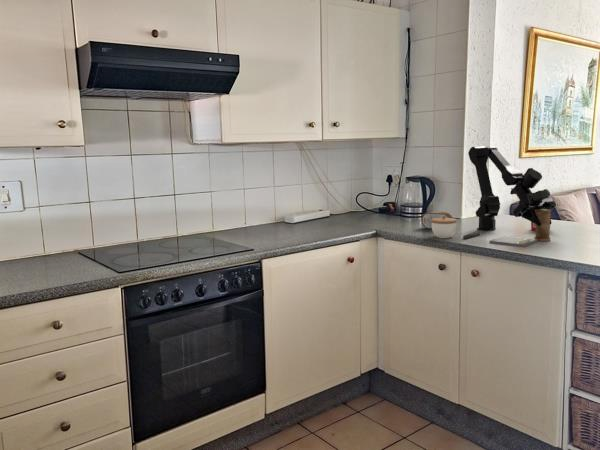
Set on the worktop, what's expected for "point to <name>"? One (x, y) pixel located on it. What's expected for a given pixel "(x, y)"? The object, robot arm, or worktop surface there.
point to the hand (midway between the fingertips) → (545, 224)
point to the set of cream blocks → (524, 240)
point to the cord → (471, 235)
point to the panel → (511, 241)
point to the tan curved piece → (431, 215)
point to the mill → (543, 225)
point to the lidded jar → (443, 227)
